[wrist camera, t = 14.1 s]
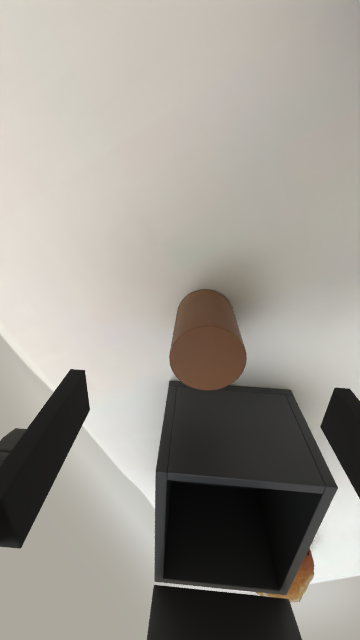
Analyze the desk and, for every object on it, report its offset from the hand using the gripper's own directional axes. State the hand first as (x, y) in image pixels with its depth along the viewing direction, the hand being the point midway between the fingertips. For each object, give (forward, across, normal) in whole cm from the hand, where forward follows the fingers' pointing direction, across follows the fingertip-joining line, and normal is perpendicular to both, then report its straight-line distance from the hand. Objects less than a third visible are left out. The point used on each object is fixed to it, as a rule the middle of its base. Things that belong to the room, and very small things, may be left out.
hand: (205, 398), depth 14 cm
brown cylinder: (+10, 0, 0) cm, 10 cm away
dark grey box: (+10, +3, -15) cm, 19 cm away
